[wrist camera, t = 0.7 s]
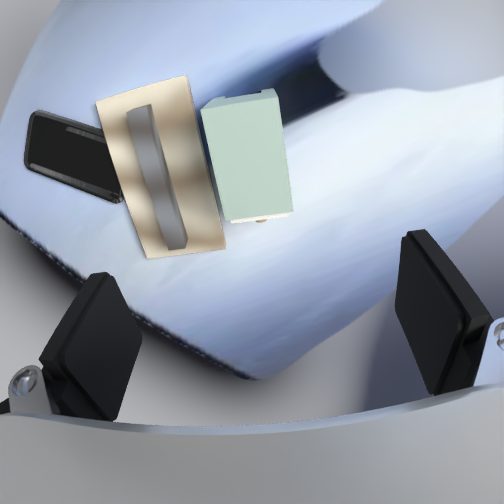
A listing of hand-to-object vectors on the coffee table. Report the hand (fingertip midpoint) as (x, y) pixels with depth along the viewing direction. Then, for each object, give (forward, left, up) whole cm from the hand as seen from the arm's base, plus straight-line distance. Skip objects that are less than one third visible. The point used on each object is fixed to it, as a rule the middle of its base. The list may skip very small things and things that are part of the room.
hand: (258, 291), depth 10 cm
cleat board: (+4, -11, -25) cm, 28 cm away
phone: (-1, -21, -26) cm, 33 cm away
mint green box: (+2, -1, -25) cm, 25 cm away
